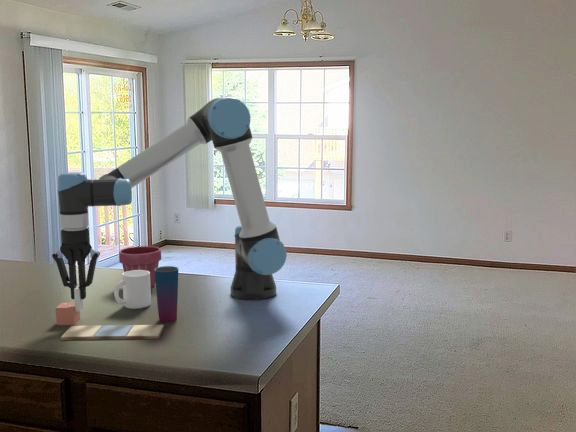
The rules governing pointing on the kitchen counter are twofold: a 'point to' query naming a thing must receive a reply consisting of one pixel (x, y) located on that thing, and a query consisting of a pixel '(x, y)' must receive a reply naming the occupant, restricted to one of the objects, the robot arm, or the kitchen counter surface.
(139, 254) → the plant pot
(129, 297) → the mug
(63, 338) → the multicoloured flat piece
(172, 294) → the cup
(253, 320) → the kitchen counter surface
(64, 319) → the die
